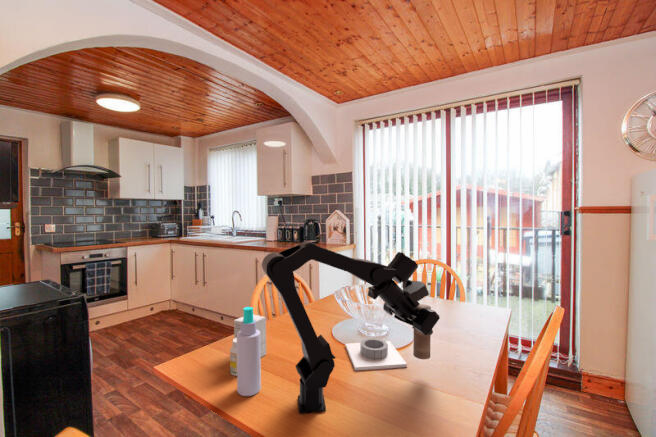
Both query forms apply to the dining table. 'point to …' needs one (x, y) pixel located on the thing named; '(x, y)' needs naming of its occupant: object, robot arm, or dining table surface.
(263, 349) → the supplement box
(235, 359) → the supplement bottle
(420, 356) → the walnut shaft
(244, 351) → the spray bottle
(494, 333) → the dining table surface
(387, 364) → the socket base plate
